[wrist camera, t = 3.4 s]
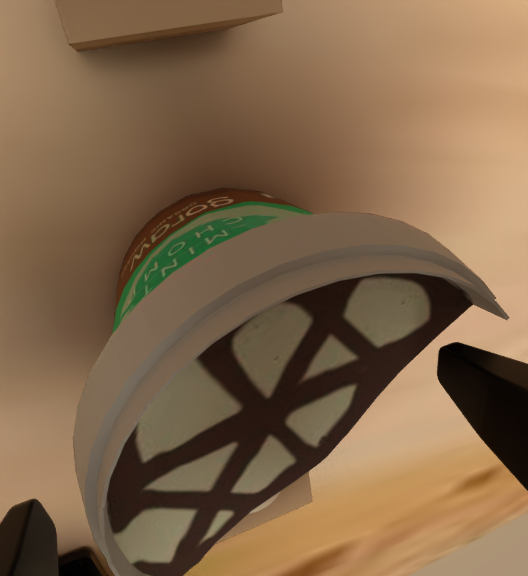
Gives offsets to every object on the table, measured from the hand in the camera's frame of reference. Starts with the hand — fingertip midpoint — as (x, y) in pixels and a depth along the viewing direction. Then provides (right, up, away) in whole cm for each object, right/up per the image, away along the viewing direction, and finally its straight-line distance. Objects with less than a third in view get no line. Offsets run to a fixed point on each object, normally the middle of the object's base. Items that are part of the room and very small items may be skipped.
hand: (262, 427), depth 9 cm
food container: (-3, +4, +9) cm, 10 cm away
